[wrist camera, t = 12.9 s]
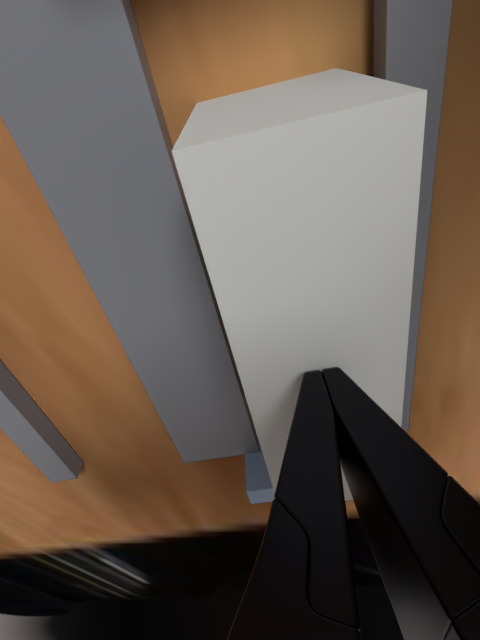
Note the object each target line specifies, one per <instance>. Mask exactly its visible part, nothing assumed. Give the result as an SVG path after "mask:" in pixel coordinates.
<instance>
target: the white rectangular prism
mask: <svg viewBox="0 0 480 640" xmlns="http://www.w3.org/2000/svg"><path fill="white" fill-rule="evenodd" d="M426 103H427V90H425V89H421V88H416V87H412V86H408V85H404V84H400V83H396V82H392V81H388V80H384V79H380V78H376V77H372V76H367V75H363V74H359V73H355V72H351V71H347V70H343V69H339V68H335V69H331V70H327V71H323V72H319V73H315V74H311V75H307V76H303V77H299V78H295V79H291V80H287V81H283V82H279V83H275V84H271V85H267V86H263V87H259V88H255V89H251V90H247V91H243V92H239V93H235V94H231V95H227V96H223V97H219V98H215V99H211V100H207V101H203V102H199V103H197V104H196V106H195V107H194V109H193V111H192V113H191V115H190V117H189V119H188V121H187V123H186V125H185V126H184V128H183V130H182V132H181V134H180V136H179V138H178V140H177V142H176V144H175V145H174V147H173V149H172V154H173V158H174V161H175V164H176V168H177V171H178V174H179V178H180V181H181V184H182V188H183V191H184V194H185V198H186V201H187V204H188V208H189V211H190V214H191V217H192V221H193V224H194V227H195V231H196V234H197V237H198V241H199V244H200V247H201V251H202V254H203V257H204V261H205V264H206V267H207V271H208V274H209V277H210V280H211V284H212V287H213V290H214V294H215V297H216V300H217V304H218V307H219V310H220V314H221V317H222V320H223V324H224V327H225V330H226V334H227V337H228V340H229V343H230V347H231V350H232V353H233V357H234V360H235V363H236V367H237V370H238V373H239V377H240V380H241V383H242V387H243V390H244V393H245V397H246V400H247V403H248V406H249V410H250V413H251V416H252V420H253V423H254V426H255V430H256V433H257V436H258V440H259V443H260V446H261V450H262V453H263V456H264V460H265V463H266V466H267V469H268V473H269V476H270V479H271V483H272V486H273V489H274V493H275V491H276V486H277V482H278V478H279V474H280V470H281V465H282V461H283V457H284V453H285V449H286V444H287V440H288V436H289V432H290V427H291V423H292V419H293V415H294V411H295V406H296V402H297V398H298V394H299V390H300V385H301V381H302V377H303V374H304V373H305V372H307V371H313V370H320V371H322V370H323V369H325V368H331V367H339V368H341V369H342V370H343V371H344V372H345V373H346V374H347V375H348V376H349V377H350V378H351V379H352V380H353V381H354V382H355V383H356V384H357V385H358V386H359V387H360V388H361V389H362V390H363V391H364V392H365V393H366V394H367V395H368V396H369V397H370V398H371V399H372V400H373V401H375V402H376V403H377V404H378V405H379V406H380V407H381V408H382V409H383V410H384V411H385V412H386V413H387V414H388V415H389V416H390V417H391V418H392V419H393V420H394V421H395V422H396V423H397V424H398V425H399V426H400V427H401V425H402V412H403V399H404V386H405V373H406V360H407V348H408V335H409V322H410V309H411V296H412V283H413V270H414V257H415V244H416V232H417V219H418V206H419V193H420V180H421V167H422V154H423V141H424V128H425V115H426ZM341 472H342V480H343V489H344V497H345V501H350V500H353V497H352V495H351V492H350V489H349V486H348V484H347V481H346V478H345V475H344V473H343V470H342V467H341Z"/></svg>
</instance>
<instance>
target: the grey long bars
mask: <svg viewBox="0 0 480 640" xmlns="http://www.w3.org/2000/svg"><path fill="white" fill-rule="evenodd" d="M452 1H453V0H374V44H373V77H376V78H380V79H384V80H388V81H392V82H396V83H400V84H404V85H408V86H412V87H416V88H421V89H425V90H427V103H426V115H425V128H424V141H423V154H422V167H421V180H420V193H419V206H418V219H417V232H416V244H415V257H414V270H413V283H412V296H411V309H410V322H409V335H408V348H407V360H406V373H405V386H404V399H403V412H402V425H401V428H402V429H403V430H404V431H408V428H409V419H410V409H411V399H412V389H413V380H414V370H415V360H416V351H417V341H418V331H419V321H420V312H421V302H422V292H423V283H424V273H425V263H426V253H427V244H428V234H429V224H430V215H431V205H432V195H433V185H434V176H435V166H436V156H437V146H438V137H439V127H440V117H441V108H442V98H443V88H444V78H445V69H446V59H447V49H448V40H449V30H450V20H451V10H452ZM0 115H1V117H2V119H3V121H4V123H5V124H6V126H7V128H8V130H9V132H10V134H11V136H12V138H13V140H14V142H15V143H16V145H17V147H18V149H19V151H20V153H21V155H22V157H23V159H24V161H25V162H26V164H27V166H28V168H29V170H30V172H31V174H32V176H33V178H34V180H35V181H36V183H37V185H38V187H39V189H40V191H41V193H42V195H43V197H44V198H45V200H46V202H47V204H48V206H49V208H50V210H51V212H52V214H53V216H54V217H55V219H56V221H57V223H58V225H59V227H60V229H61V231H62V233H63V235H64V236H65V238H66V240H67V242H68V244H69V246H70V248H71V250H72V252H73V253H74V255H75V257H76V259H77V261H78V263H79V265H80V267H81V269H82V271H83V272H84V274H85V276H86V278H87V280H88V282H89V284H90V286H91V288H92V290H93V291H94V293H95V295H96V297H97V299H98V301H99V303H100V305H101V307H102V308H103V310H104V312H105V314H106V316H107V318H108V320H109V322H110V324H111V326H112V327H113V329H114V331H115V333H116V335H117V337H118V339H119V341H120V343H121V345H122V346H123V348H124V350H125V352H126V354H127V356H128V358H129V360H130V362H131V364H132V365H133V367H134V369H135V371H136V373H137V375H138V377H139V379H140V381H141V382H142V384H143V386H144V388H145V390H146V392H147V394H148V396H149V398H150V400H151V401H152V403H153V405H154V407H155V409H156V411H157V413H158V415H159V417H160V419H161V420H162V422H163V424H164V426H165V428H166V430H167V432H168V434H169V436H170V437H171V439H172V441H173V443H174V445H175V447H176V449H177V451H178V453H179V455H180V456H181V458H182V460H183V462H184V463H189V462H196V461H202V460H209V459H216V458H223V457H230V456H237V455H244V454H251V453H257V452H259V446H258V436H257V433H256V430H255V426H254V423H253V420H252V416H251V413H250V410H249V406H248V403H247V400H246V397H245V393H244V390H243V387H242V383H241V380H240V377H239V373H238V370H237V367H236V363H235V360H234V357H233V353H232V350H231V347H230V343H229V340H228V337H227V334H226V330H225V327H224V324H223V320H222V317H221V314H220V310H219V307H218V304H217V300H216V297H215V294H214V290H213V287H212V284H211V280H210V277H209V274H208V271H207V267H206V264H205V261H204V257H203V254H202V251H201V247H200V244H199V241H198V237H197V234H196V231H195V227H194V224H193V221H192V217H191V214H190V211H189V208H188V204H187V201H186V198H185V194H184V191H183V188H182V184H181V181H180V178H179V174H178V171H177V168H176V164H175V161H174V158H173V154H172V149H173V146H172V143H171V139H170V136H169V133H168V129H167V126H166V122H165V119H164V116H163V112H162V109H161V105H160V102H159V99H158V95H157V92H156V88H155V85H154V82H153V78H152V75H151V71H150V68H149V65H148V61H147V58H146V54H145V51H144V48H143V44H142V41H141V37H140V34H139V31H138V27H137V24H136V20H135V17H134V14H133V10H132V7H131V3H130V0H0ZM0 429H1V430H2V431H3V432H4V433H5V434H6V435H7V436H8V437H9V438H10V439H11V441H12V442H13V443H14V444H15V445H16V446H17V447H18V448H19V449H20V450H21V451H22V452H23V453H24V454H25V455H26V456H27V457H28V458H29V459H30V460H31V461H32V462H33V463H34V465H35V466H36V467H37V468H38V469H39V470H40V471H41V472H42V473H43V474H44V475H45V476H46V477H47V478H48V479H49V480H50V481H51V482H58V481H65V480H72V479H77V478H78V475H79V472H80V469H81V467H82V464H83V461H82V460H81V459H80V458H79V456H78V455H77V454H76V453H75V451H74V450H73V449H72V448H71V447H70V445H69V444H68V443H67V442H66V440H65V439H64V438H63V437H62V435H61V434H60V433H59V432H58V431H57V429H56V428H55V427H54V426H53V424H52V423H51V422H50V421H49V419H48V418H47V417H46V416H45V415H44V413H43V412H42V411H41V410H40V408H39V407H38V406H37V405H36V403H35V402H34V401H33V400H32V399H31V397H30V396H29V395H28V394H27V392H26V391H25V390H24V389H23V387H22V386H21V385H20V384H19V383H18V381H17V380H16V379H15V378H14V376H13V375H12V374H11V373H10V371H9V370H8V369H7V368H6V367H5V365H4V364H3V363H2V362H1V360H0Z"/></svg>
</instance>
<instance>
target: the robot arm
mask: <svg viewBox="0 0 480 640" xmlns="http://www.w3.org/2000/svg"><path fill="white" fill-rule="evenodd" d="M341 467H342V470H343V473H344V475H345V478H346V481H347V484H348V486H349V489H350V492H351V495H352V497H353V500H354V503H355V505H356V508H357V511H358V514H359V516H360V519H361V522H362V525H363V527H364V530H365V533H366V536H367V538H368V541H369V544H370V547H371V549H372V552H373V555H374V558H375V560H376V563H377V566H378V568H379V571H380V574H381V577H382V579H383V582H384V585H385V588H386V590H387V593H388V596H389V598H390V601H391V604H392V607H393V610H394V612H395V615H396V618H397V620H398V623H399V626H400V629H401V631H402V634H403V637H404V640H480V503H479V502H478V501H477V500H475V499H474V498H473V497H472V496H471V495H470V494H469V493H468V492H467V491H466V490H465V489H464V488H463V487H462V486H461V485H460V484H459V483H458V482H457V481H456V480H455V479H454V478H453V477H451V476H448V473H447V472H446V471H445V470H444V469H443V468H442V467H441V466H440V465H439V464H438V463H437V462H436V461H435V460H434V459H433V458H432V457H431V456H430V455H429V454H428V453H427V452H426V451H425V450H424V449H423V448H422V447H421V446H420V445H419V444H418V443H417V442H415V441H414V440H413V439H412V438H411V437H410V436H409V435H408V434H407V433H406V432H405V431H404V430H403V429H402V428H401V427H400V426H399V425H398V424H397V423H396V422H395V421H394V420H393V419H392V418H391V417H390V416H389V415H388V414H387V413H386V412H385V411H384V410H383V409H382V408H381V407H380V406H379V405H378V404H377V403H376V402H375V401H373V400H372V399H371V398H370V397H369V396H368V395H367V394H366V393H365V392H364V391H363V390H362V389H361V388H360V387H359V386H358V385H357V384H356V383H355V382H354V381H353V380H352V379H351V378H350V377H349V376H348V375H347V374H346V373H345V372H344V371H343V370H342V369H341V368H339V367H331V368H325V369H323V370H322V371H320V370H313V371H307V372H305V373H304V374H303V377H302V381H301V385H300V390H299V394H298V398H297V402H296V406H295V411H294V415H293V419H292V423H291V427H290V432H289V436H288V440H287V444H286V449H285V453H284V457H283V461H282V465H281V470H280V474H279V478H278V482H277V486H276V491H275V495H274V498H275V499H274V500H273V502H272V506H271V511H270V515H269V519H268V522H267V526H266V530H265V533H264V537H263V541H262V544H261V547H260V550H259V553H258V556H257V559H256V562H255V565H254V568H253V571H252V573H251V576H250V579H249V581H248V584H247V587H246V589H245V592H244V595H243V597H242V600H241V603H240V606H239V608H238V611H237V614H236V616H235V619H234V622H233V625H232V627H231V630H230V632H229V635H228V638H227V640H361V633H360V624H359V615H358V607H357V599H356V590H355V582H354V573H353V565H352V556H351V548H350V539H349V531H348V522H347V514H346V506H345V497H344V489H343V480H342V472H341ZM447 476H448V477H447Z"/></svg>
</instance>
